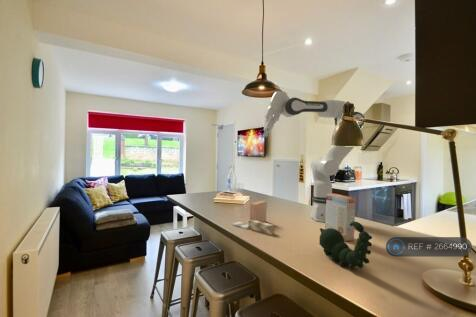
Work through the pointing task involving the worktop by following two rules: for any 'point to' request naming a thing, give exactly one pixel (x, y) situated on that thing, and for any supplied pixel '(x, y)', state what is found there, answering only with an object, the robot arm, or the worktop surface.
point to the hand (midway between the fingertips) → (264, 137)
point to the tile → (258, 211)
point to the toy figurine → (346, 246)
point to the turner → (256, 226)
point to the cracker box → (340, 214)
